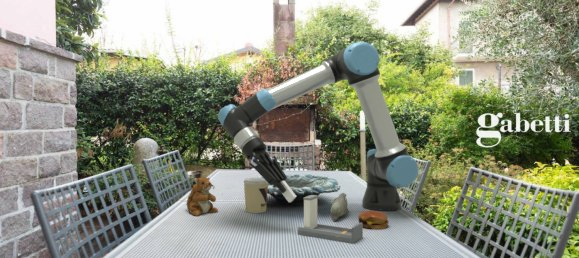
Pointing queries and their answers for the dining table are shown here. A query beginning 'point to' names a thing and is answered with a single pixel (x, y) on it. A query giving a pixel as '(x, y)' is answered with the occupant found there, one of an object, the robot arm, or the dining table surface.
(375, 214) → the burger
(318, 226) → the fader rail
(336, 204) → the decorative bird
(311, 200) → the fader tab
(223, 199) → the dining table surface
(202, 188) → the stuffed squirrel
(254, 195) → the coffee cup
